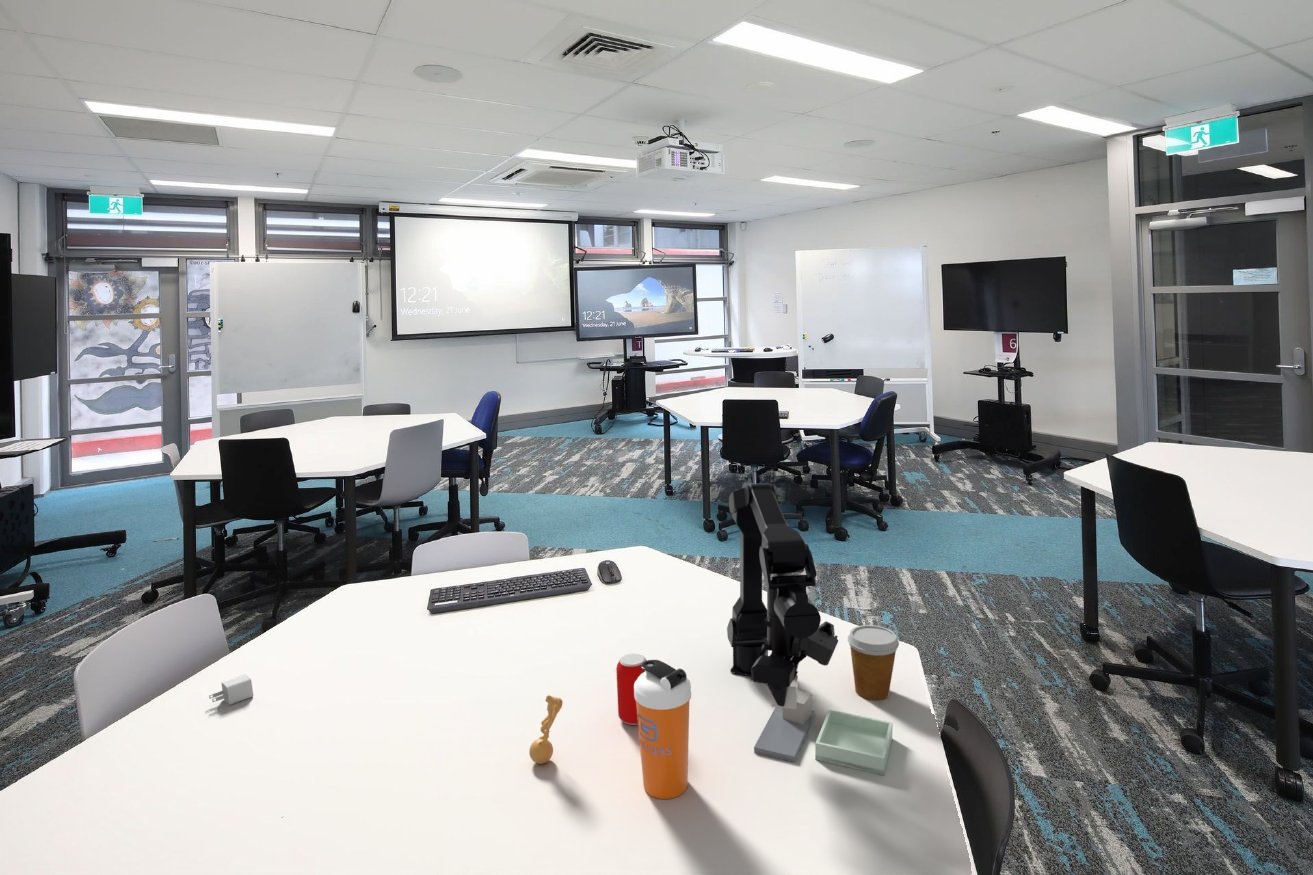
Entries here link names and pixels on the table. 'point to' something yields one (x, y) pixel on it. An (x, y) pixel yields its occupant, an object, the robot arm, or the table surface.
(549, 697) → the figurine
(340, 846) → the table surface
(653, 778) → the shaker bottle
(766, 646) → the robot arm
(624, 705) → the beverage can
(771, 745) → the slate board
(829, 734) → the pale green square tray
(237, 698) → the usb wall charger
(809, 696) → the grey stone cube
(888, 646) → the disposable coffee cup
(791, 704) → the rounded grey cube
